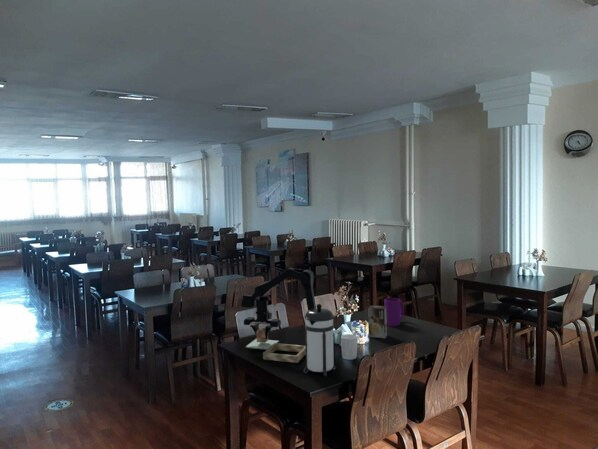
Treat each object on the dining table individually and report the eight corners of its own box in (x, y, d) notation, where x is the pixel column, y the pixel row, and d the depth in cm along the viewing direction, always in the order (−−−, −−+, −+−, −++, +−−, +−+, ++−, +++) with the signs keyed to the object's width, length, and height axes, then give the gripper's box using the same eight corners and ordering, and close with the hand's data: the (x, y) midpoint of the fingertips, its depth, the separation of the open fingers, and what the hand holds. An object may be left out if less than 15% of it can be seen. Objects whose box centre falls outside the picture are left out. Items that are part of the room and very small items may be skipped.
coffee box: (387, 335, 258) (387, 306, 256) (385, 338, 252) (384, 309, 250) (370, 333, 261) (370, 305, 260) (368, 337, 255) (367, 307, 254)
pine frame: (307, 351, 233) (307, 346, 233) (297, 362, 218) (297, 356, 218) (274, 348, 238) (274, 342, 238) (262, 359, 224) (262, 353, 224)
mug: (381, 324, 278) (381, 299, 277) (396, 319, 289) (396, 295, 288) (394, 327, 271) (394, 302, 270) (409, 322, 282) (409, 297, 281)
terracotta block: (268, 339, 246) (268, 328, 246) (264, 342, 242) (264, 331, 241) (260, 339, 248) (260, 327, 247) (256, 342, 243) (256, 330, 243)
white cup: (353, 361, 219) (353, 340, 219) (338, 358, 223) (338, 337, 223) (360, 356, 226) (360, 335, 225) (345, 353, 230) (345, 333, 229)
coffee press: (343, 375, 203) (342, 306, 201) (307, 379, 199) (306, 309, 197) (332, 361, 220) (331, 297, 217) (298, 364, 216) (297, 300, 214)
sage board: (278, 341, 249) (278, 340, 249) (269, 349, 237) (269, 348, 237) (256, 339, 253) (256, 338, 253) (246, 347, 241) (246, 346, 241)
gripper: (284, 306, 248) (284, 335, 249) (251, 303, 254) (252, 332, 255) (276, 311, 238) (277, 341, 239) (242, 309, 244) (243, 338, 245)
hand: (262, 338), depth 245 cm, fingers closed on terracotta block, 4 cm apart
